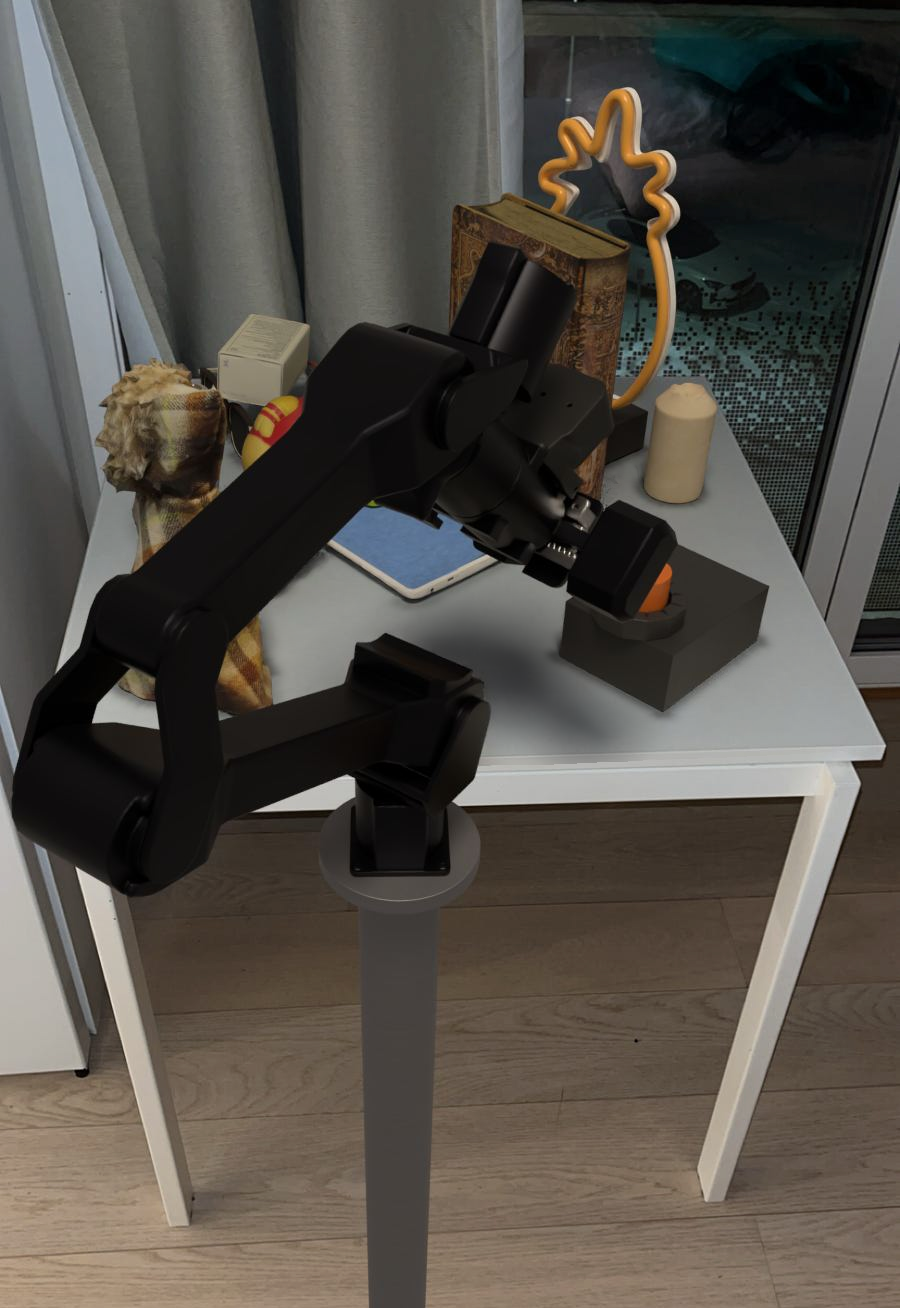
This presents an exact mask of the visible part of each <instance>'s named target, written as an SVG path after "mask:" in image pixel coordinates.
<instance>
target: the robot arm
mask: <svg viewBox="0 0 900 1308" xmlns="http://www.w3.org/2000/svg"><path fill="white" fill-rule="evenodd" d="M577 299H578V295H577V292H576V290H575V288H574V287H573V285H572V284H570V283H569V282H566V281H563V280H562V279H561V278H559V277H558V276H557V275H555V274H554V273H553V272H551V271H550V270H548V269H546V268H545V267H543V266H541V265H539V264H538V263H536V262H534V261H532V260H529V259H527V257H526V256H525V254H524V252H523V251H522V249H521V248H517V247H513V246H509V245H506V244H502V243H498V242H494V241H490V242H488V244H487V246H486V249H485V251H484V253H483V255H482V257H481V260H480V262H479V264H478V266H477V268H476V271H475V273H474V275H473V277H472V279H471V282H470V284H469V286H468V288H467V290H466V293H465V295H464V297H463V299H462V301H461V303H460V306H459V308H458V310H457V312H456V314H455V317H454V319H453V321H452V323H451V325H450V328H449V327H448V330H447V332H446V334H444V333H441V332H438V331H434V330H431V329H427V328H424V327H421V326H418V325H414V324H411V323H408V322H402V323H399V324H396V325H392V326H389V327H386V326H384V325H379V324H376V323H371V322H368V321H363V322H357V323H356V324H354V325H352V326H351V327H349V328H348V329H347V330H345V332H344V333H343V334H342V335H341V336H340V337H339V338H338V340H336V342H335V343H334V344H333V345H332V347H331V348H330V349H329V350H328V352H327V353H326V354H325V355H324V356H323V358H322V359H321V360H320V361H319V363H317V364H318V365H317V366H316V367H315V368H314V369H312V371H311V372H310V374H308V375H307V377H306V380H305V384H304V391H303V397H304V398H303V397H302V398H303V405H302V413H301V415H300V416H299V418H298V419H297V420H296V421H295V422H294V424H293V425H292V426H291V427H290V429H289V430H288V431H287V432H286V433H285V434H284V435H283V436H282V437H281V438H280V439H278V440H277V441H276V442H275V443H274V444H273V445H272V446H271V447H270V448H269V449H268V450H267V451H265V452H264V453H263V454H262V455H261V456H260V457H259V458H258V459H257V460H256V461H255V462H254V463H252V464H251V465H250V466H249V467H248V468H247V469H246V470H245V471H242V472H241V473H240V474H239V475H238V476H236V478H235V479H234V480H233V481H232V482H230V484H228V485H227V486H226V487H225V488H224V489H223V490H222V491H220V494H219V495H218V496H217V497H216V498H214V499H213V500H212V501H211V502H210V503H209V504H208V505H207V506H206V507H205V508H204V509H202V510H201V511H200V512H199V513H198V514H197V515H196V516H195V517H194V518H193V519H192V520H191V521H189V522H188V523H187V524H186V525H185V526H184V527H183V528H182V529H181V530H180V531H179V532H178V533H176V534H175V535H174V536H173V537H172V538H171V539H170V540H169V541H168V542H167V543H166V544H165V545H163V546H162V547H161V548H160V549H159V550H158V551H157V552H156V553H155V554H154V555H153V556H151V557H150V558H149V559H148V560H147V561H146V562H145V563H144V564H143V565H142V566H141V567H140V568H138V569H137V570H136V571H135V572H133V573H132V574H130V573H123V574H122V573H120V574H116V575H114V576H113V577H112V578H110V579H109V580H107V581H105V583H103V585H102V586H101V588H100V589H98V591H97V592H96V593H95V595H94V599H93V601H92V603H91V605H90V607H89V611H88V614H87V618H86V620H85V624H84V629H83V631H82V636H81V640H80V644H79V646H78V648H77V649H76V650H75V651H74V653H73V654H72V655H71V656H70V657H69V658H68V659H67V660H66V661H65V662H64V664H62V665H61V667H60V668H59V669H58V670H57V671H56V672H55V673H54V674H53V675H52V676H51V678H50V679H49V680H48V681H47V682H46V684H44V686H43V687H42V688H41V689H40V690H39V691H38V692H37V693H36V696H35V697H34V699H33V700H32V701H33V702H32V705H31V709H30V713H29V715H28V716H29V717H28V720H27V724H26V728H25V731H24V735H23V738H22V742H21V747H20V750H19V753H18V757H17V762H16V765H15V767H14V768H15V769H14V773H13V777H12V784H11V785H12V786H11V792H12V794H11V799H10V801H11V818H12V821H13V823H14V826H15V828H16V830H17V831H18V832H19V833H20V834H21V835H22V836H23V837H25V838H26V839H27V840H29V841H30V842H32V843H34V844H35V845H37V846H39V847H40V848H42V849H44V850H46V851H48V852H49V853H51V854H52V855H54V856H56V857H58V858H60V859H61V860H63V861H65V862H66V863H68V864H70V865H72V866H74V867H75V868H77V869H79V870H80V871H82V872H83V873H85V874H87V875H89V876H91V877H92V878H94V879H95V880H97V881H99V882H101V883H103V885H106V886H107V887H109V888H111V889H113V890H114V891H116V892H118V893H119V894H122V895H124V896H126V897H128V898H129V899H135V900H139V899H144V898H148V897H151V896H154V895H156V894H157V893H159V892H161V891H163V890H165V889H167V888H168V887H170V886H172V884H175V883H176V882H178V881H179V880H182V878H184V877H186V876H187V875H189V874H190V873H191V872H193V871H195V870H196V869H199V868H200V867H202V866H203V865H205V864H206V863H207V862H208V860H209V859H210V855H211V853H212V850H213V847H214V845H215V843H216V840H217V837H218V834H219V832H220V828H221V827H222V826H223V825H224V824H226V823H229V822H231V821H233V820H236V819H239V818H241V817H244V816H246V815H248V814H251V813H254V812H256V811H259V810H261V809H264V808H267V807H268V806H271V805H274V804H276V803H279V802H281V801H284V800H286V799H290V798H292V797H294V796H296V795H299V794H301V793H304V792H307V791H309V790H312V789H314V788H317V787H320V786H321V785H324V784H327V783H329V782H332V781H334V780H337V779H339V778H342V777H344V776H349V777H350V778H353V779H354V797H355V805H353V806H352V807H351V827H350V874H351V875H352V876H354V877H440V876H447V875H449V874H450V870H451V864H450V847H449V831H448V814H447V806H448V805H449V804H450V803H451V802H454V800H456V798H458V796H459V795H461V794H462V792H464V790H465V789H467V787H469V786H470V784H471V783H473V782H474V780H475V779H476V775H477V772H478V768H479V763H480V760H481V756H482V753H483V748H484V744H485V740H486V737H487V733H488V729H489V725H490V720H491V714H492V709H491V705H490V703H489V702H488V701H487V700H485V689H486V683H485V681H484V680H483V679H482V678H479V677H477V676H475V675H473V674H474V672H475V670H474V669H473V668H470V667H468V666H466V665H464V664H461V663H459V662H456V661H454V660H452V659H449V658H447V657H444V656H443V655H440V654H437V653H436V652H433V651H431V650H428V649H426V648H423V647H421V646H419V645H416V644H414V643H411V642H410V641H407V640H405V639H403V638H400V637H398V636H395V635H392V634H390V633H388V632H384V633H382V635H380V636H379V637H377V638H376V639H374V640H372V641H365V642H364V641H356V643H355V645H354V653H353V658H352V659H351V660H350V661H349V665H348V669H347V672H346V676H345V679H344V682H343V683H342V684H339V685H336V686H332V687H329V688H326V689H322V690H318V691H315V692H312V693H309V694H305V695H301V696H299V697H295V698H291V699H288V700H285V701H281V702H278V703H275V704H271V705H270V706H267V707H264V708H260V709H257V710H254V711H250V712H247V713H243V714H236V715H234V716H230V717H227V718H223V719H220V715H219V708H218V706H217V699H216V691H215V689H216V685H217V681H218V678H219V675H220V671H221V668H222V665H223V661H224V658H225V655H226V651H227V645H228V643H229V642H230V641H231V640H232V639H233V638H234V637H235V636H236V635H237V634H238V633H239V632H240V631H241V630H242V629H243V628H244V627H245V626H246V625H247V624H248V623H249V622H250V621H251V620H252V619H253V618H254V617H255V616H256V615H257V614H258V615H259V614H260V612H261V611H262V610H263V609H264V608H265V607H266V606H267V605H268V604H269V603H270V602H271V601H273V599H275V597H276V596H277V595H278V594H279V593H280V592H281V591H282V590H284V588H285V587H286V586H287V585H288V584H289V583H290V582H291V581H292V580H293V579H294V578H295V577H296V576H297V575H298V574H299V573H300V572H301V571H302V570H303V569H304V568H305V567H306V566H307V565H308V564H309V563H310V562H311V561H312V560H313V559H314V558H315V557H316V556H317V555H318V554H319V553H320V552H321V551H322V550H323V549H324V548H325V547H326V546H327V545H328V544H327V543H328V542H329V541H330V540H331V539H332V538H333V537H334V536H335V535H336V534H337V533H338V532H339V531H340V530H341V529H342V528H343V527H344V526H345V525H346V524H347V523H348V522H349V521H350V520H351V519H352V518H353V517H354V516H355V515H356V514H357V513H358V512H359V511H360V510H361V509H362V508H363V507H365V506H366V505H367V504H369V503H370V502H371V501H374V503H375V504H376V505H379V506H382V507H385V508H387V509H390V510H393V511H396V512H399V513H402V514H404V515H407V516H410V517H412V518H414V519H416V520H418V521H420V522H422V523H424V524H426V525H428V526H430V527H432V528H434V529H436V530H439V529H440V527H441V526H442V524H443V522H444V521H442V520H441V519H440V518H439V517H437V516H438V514H441V515H444V516H446V517H448V518H450V519H452V520H454V521H456V522H458V523H459V522H460V524H462V525H463V526H462V528H461V529H460V531H461V532H462V533H463V534H464V535H466V536H467V537H469V538H471V539H473V546H474V547H475V549H477V550H478V551H480V552H482V553H484V554H486V555H488V556H490V557H492V558H494V559H496V560H498V561H497V562H500V563H502V564H504V565H505V564H506V565H514V566H524V567H523V569H522V571H521V573H522V574H524V575H526V576H527V577H529V578H532V579H533V580H536V581H538V582H539V583H542V584H544V585H545V586H547V587H549V588H552V589H560V588H562V587H564V586H565V585H566V589H565V592H566V593H567V594H568V595H569V596H571V597H573V598H575V599H577V600H578V601H580V602H581V603H583V604H585V605H586V606H588V607H590V608H592V609H594V610H596V611H598V612H600V613H602V614H604V615H606V616H608V617H610V618H612V619H614V620H616V621H618V622H620V623H625V622H627V621H630V620H633V619H634V618H635V617H636V615H637V613H638V611H639V610H640V608H641V606H642V605H643V603H644V601H645V599H646V598H647V596H648V594H649V593H650V591H651V589H652V587H653V586H654V584H655V582H656V581H657V579H658V577H659V575H660V574H661V572H662V570H663V569H664V567H665V565H666V563H667V562H668V560H669V558H670V557H671V555H672V553H673V551H674V550H675V548H676V546H677V545H678V544H679V541H678V538H677V534H676V531H675V529H673V527H672V526H671V525H670V524H669V523H668V522H667V520H665V519H664V518H661V517H658V516H657V515H654V514H652V513H650V512H647V511H646V510H642V509H641V508H639V507H637V506H634V505H632V504H630V503H628V502H625V501H623V500H621V499H618V500H616V501H614V502H613V503H611V504H609V505H608V506H605V508H604V504H603V503H602V501H601V500H600V501H599V500H597V499H594V498H592V497H590V496H588V495H586V494H583V493H581V492H579V491H578V489H579V488H580V486H581V484H582V482H583V480H582V479H581V478H580V477H579V476H578V475H577V474H576V473H575V472H574V470H575V469H576V468H578V467H579V466H580V465H581V464H582V463H583V462H584V461H585V460H586V459H587V458H588V456H589V455H590V454H591V453H592V452H593V451H594V450H595V448H596V447H597V446H598V445H599V444H600V443H601V442H602V440H603V439H606V438H607V437H608V436H609V435H610V434H611V433H612V431H613V429H614V422H613V417H612V412H611V408H610V403H609V398H608V393H607V389H606V385H605V384H604V383H603V382H602V381H601V380H598V379H596V378H593V377H591V376H588V375H586V374H583V373H581V372H578V371H576V370H573V369H571V368H568V367H566V366H563V365H560V364H552V365H548V364H549V362H550V359H551V357H552V355H553V353H554V351H555V348H556V346H557V344H558V342H559V340H560V338H561V335H562V333H563V331H564V329H565V327H566V324H567V322H568V320H569V318H570V316H571V313H572V311H573V309H574V307H575V305H576V302H577ZM130 669H133V670H135V671H137V672H139V673H141V674H143V675H145V676H147V677H149V678H152V679H154V680H155V687H154V694H155V700H154V701H155V708H156V709H155V710H156V716H157V723H158V728H155V727H154V728H153V727H148V726H141V725H135V724H130V723H129V724H128V723H123V722H118V721H117V722H115V721H109V722H108V721H107V722H93V721H94V717H95V715H96V710H97V707H98V705H99V703H100V702H101V701H102V699H104V697H105V696H107V694H108V693H110V691H111V690H112V689H114V687H115V686H116V685H117V684H118V681H119V680H120V679H121V678H122V677H123V676H124V675H125V674H126V673H127V672H128V671H129V670H130ZM441 868H445V869H441ZM355 869H360V870H355Z"/></svg>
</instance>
